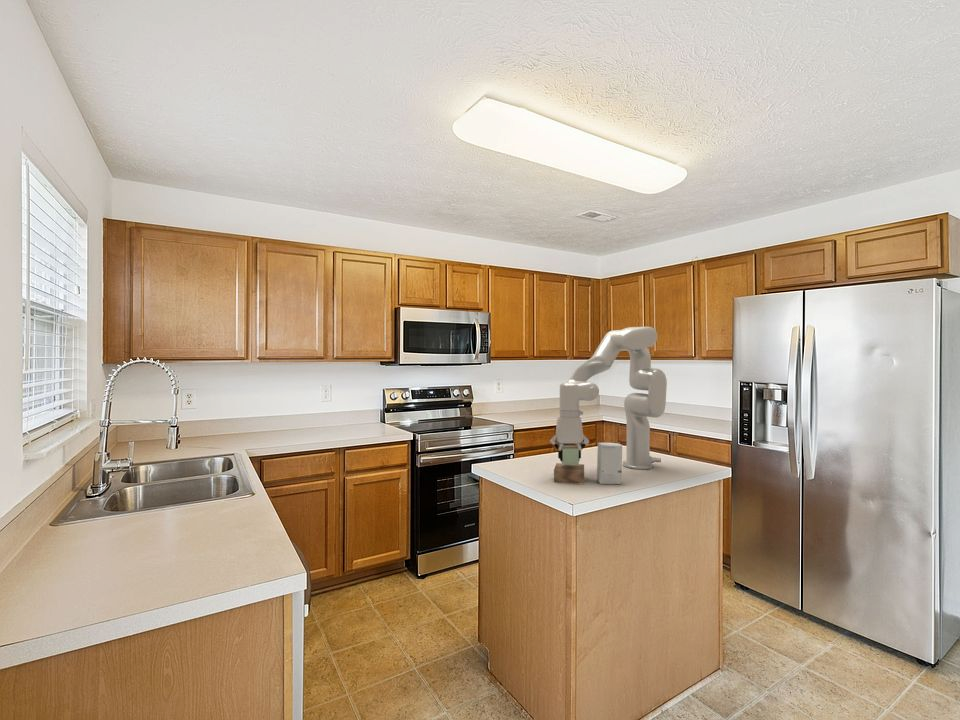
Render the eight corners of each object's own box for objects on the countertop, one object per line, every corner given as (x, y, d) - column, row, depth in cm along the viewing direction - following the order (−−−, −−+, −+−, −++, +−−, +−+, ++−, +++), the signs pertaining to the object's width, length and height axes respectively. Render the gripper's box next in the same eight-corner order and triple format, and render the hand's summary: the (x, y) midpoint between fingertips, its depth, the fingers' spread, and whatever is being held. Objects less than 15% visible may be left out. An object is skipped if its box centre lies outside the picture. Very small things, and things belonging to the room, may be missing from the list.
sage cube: (575, 460, 191) (575, 445, 191) (578, 464, 185) (578, 449, 185) (560, 460, 191) (560, 445, 191) (563, 464, 185) (563, 449, 185)
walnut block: (584, 476, 192) (584, 464, 192) (583, 484, 182) (583, 471, 182) (556, 475, 195) (556, 463, 195) (554, 482, 184) (554, 469, 184)
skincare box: (600, 484, 181) (600, 445, 180) (596, 480, 187) (596, 441, 186) (622, 484, 181) (622, 444, 180) (618, 479, 187) (618, 441, 186)
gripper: (589, 412, 191) (589, 458, 192) (546, 413, 192) (546, 458, 192) (593, 415, 184) (593, 462, 184) (548, 415, 184) (548, 462, 185)
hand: (569, 459), depth 188 cm, fingers closed on sage cube, 5 cm apart
